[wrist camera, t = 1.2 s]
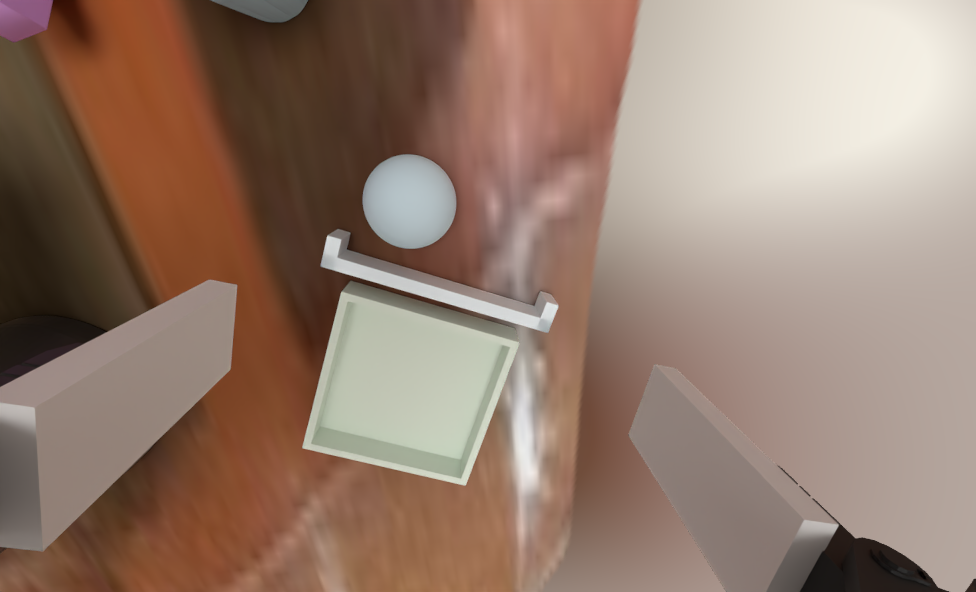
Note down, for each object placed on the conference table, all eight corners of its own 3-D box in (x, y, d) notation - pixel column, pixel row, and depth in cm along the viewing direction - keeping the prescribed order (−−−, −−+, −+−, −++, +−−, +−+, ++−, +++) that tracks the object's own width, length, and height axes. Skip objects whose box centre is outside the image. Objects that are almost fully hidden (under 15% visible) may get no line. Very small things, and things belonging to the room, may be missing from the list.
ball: (362, 225, 35) (342, 240, 29) (383, 142, 34) (367, 139, 27) (442, 250, 36) (439, 269, 30) (467, 170, 34) (469, 174, 28)
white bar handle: (331, 257, 36) (320, 266, 33) (338, 228, 35) (327, 235, 32) (541, 319, 39) (547, 333, 36) (551, 294, 38) (558, 305, 35)
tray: (313, 426, 40) (302, 448, 37) (350, 280, 36) (341, 291, 34) (465, 462, 42) (465, 485, 39) (515, 328, 39) (519, 342, 36)
